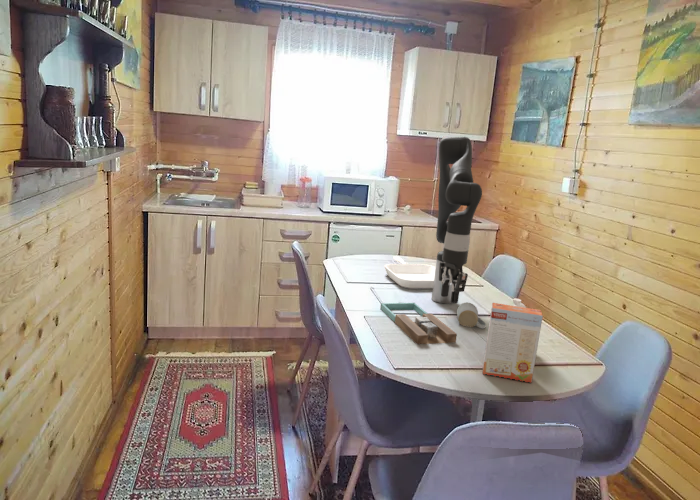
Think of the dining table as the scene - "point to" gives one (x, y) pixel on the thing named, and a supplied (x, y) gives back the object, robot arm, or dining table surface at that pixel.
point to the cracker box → (512, 342)
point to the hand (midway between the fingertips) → (449, 299)
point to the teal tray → (400, 308)
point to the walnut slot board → (420, 336)
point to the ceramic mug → (469, 316)
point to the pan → (411, 274)
